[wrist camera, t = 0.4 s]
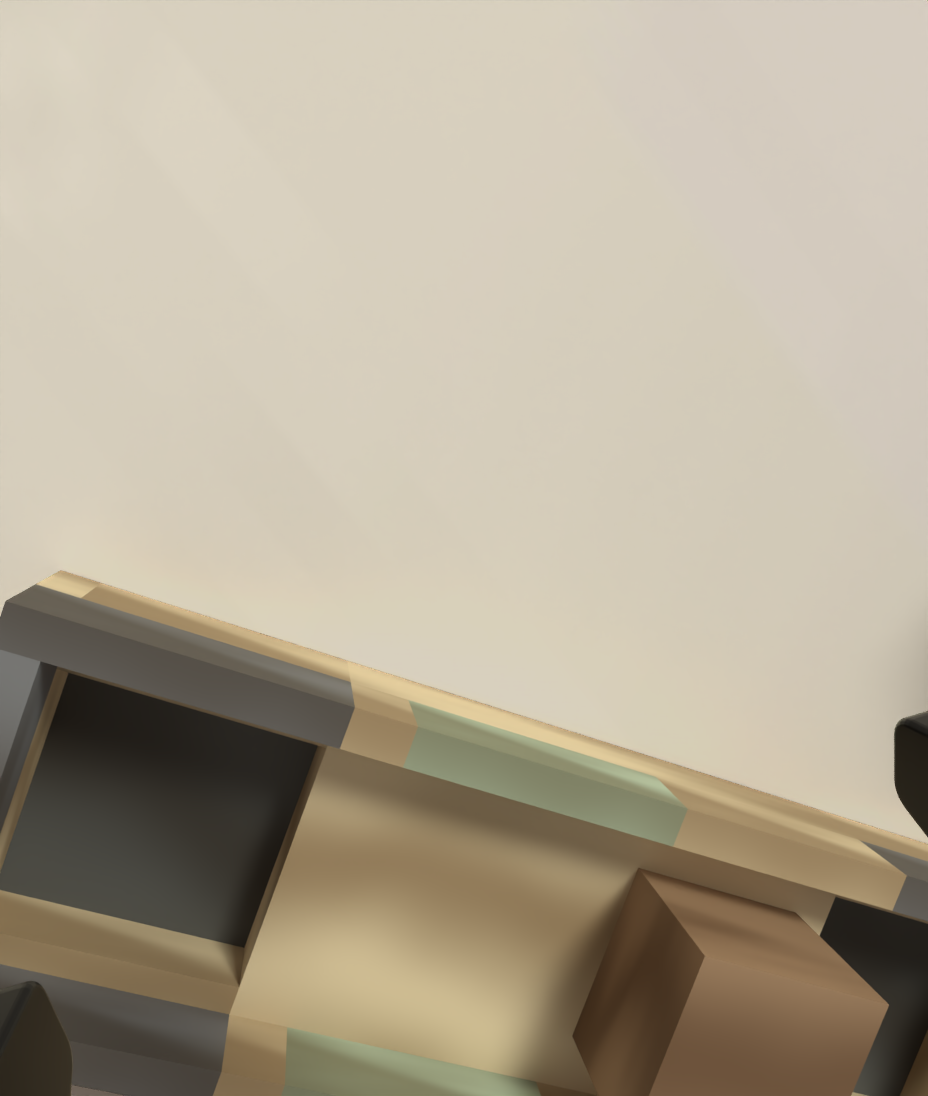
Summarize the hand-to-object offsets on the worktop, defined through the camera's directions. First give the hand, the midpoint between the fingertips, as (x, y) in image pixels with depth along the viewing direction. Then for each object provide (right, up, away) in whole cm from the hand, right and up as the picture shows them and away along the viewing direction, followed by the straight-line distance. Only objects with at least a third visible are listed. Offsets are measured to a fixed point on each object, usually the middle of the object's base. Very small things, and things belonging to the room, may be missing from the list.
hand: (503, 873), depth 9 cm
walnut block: (+6, -8, +15) cm, 18 cm away
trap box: (+2, -7, +16) cm, 18 cm away
